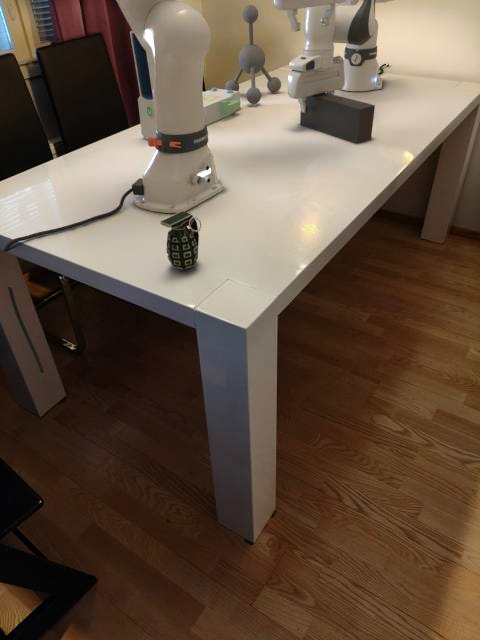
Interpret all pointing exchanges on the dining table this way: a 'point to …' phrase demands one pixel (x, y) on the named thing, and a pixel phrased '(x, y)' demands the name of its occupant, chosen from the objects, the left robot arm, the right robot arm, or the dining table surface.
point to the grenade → (182, 240)
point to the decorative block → (219, 104)
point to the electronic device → (145, 87)
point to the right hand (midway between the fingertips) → (315, 108)
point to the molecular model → (252, 62)
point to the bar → (339, 117)
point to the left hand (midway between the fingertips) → (310, 28)
